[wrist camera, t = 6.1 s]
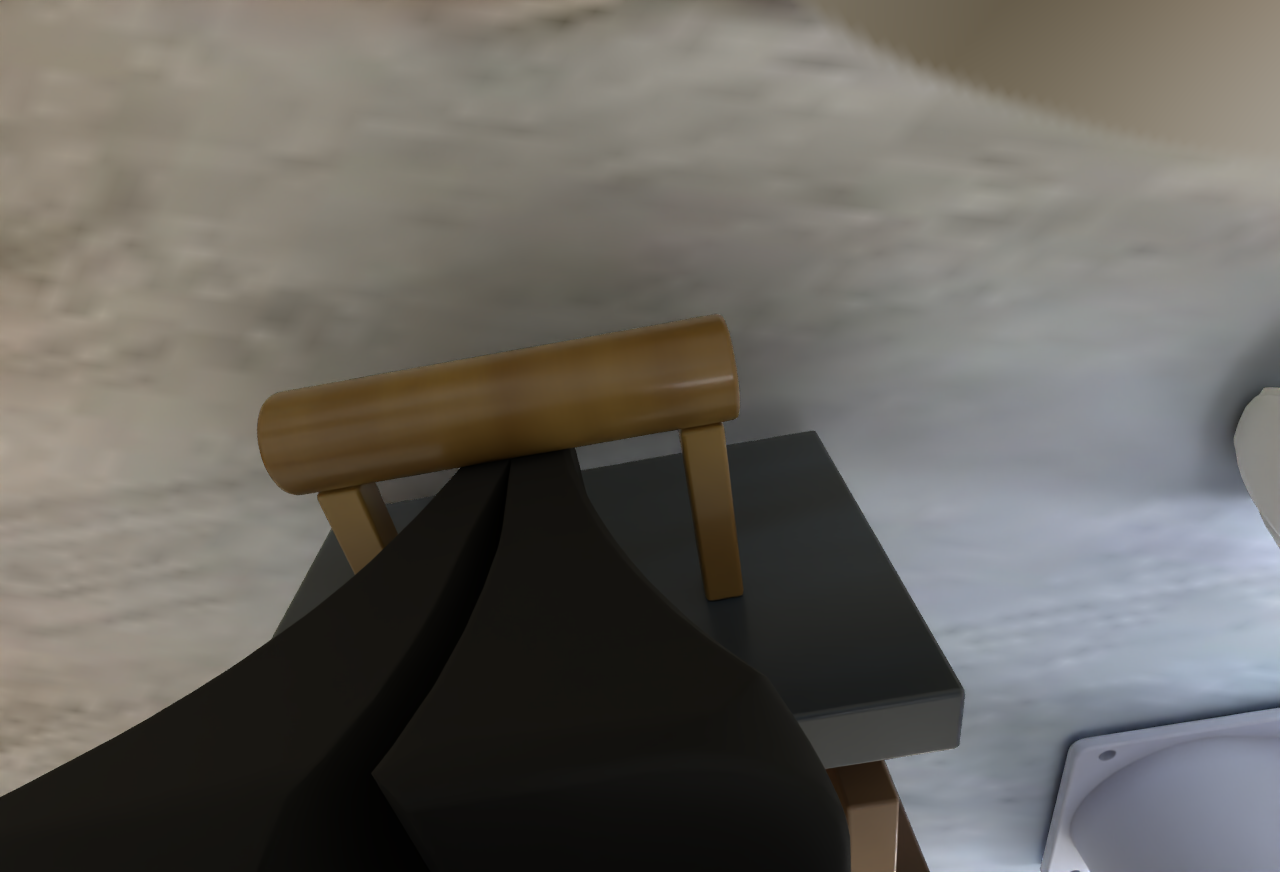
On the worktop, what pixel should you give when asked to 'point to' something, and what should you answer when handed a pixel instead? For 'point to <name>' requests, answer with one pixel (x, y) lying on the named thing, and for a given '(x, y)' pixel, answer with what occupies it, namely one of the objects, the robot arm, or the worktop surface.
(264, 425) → the drawer
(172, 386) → the worktop surface
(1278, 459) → the water bottle
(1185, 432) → the worktop surface
